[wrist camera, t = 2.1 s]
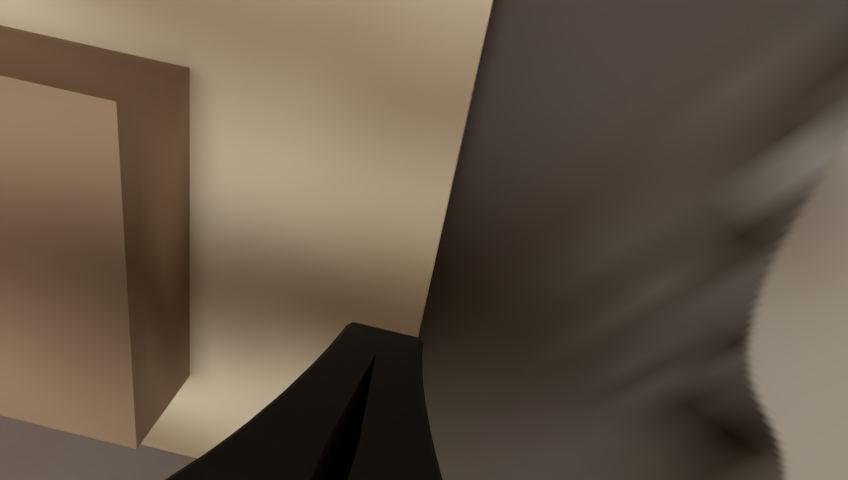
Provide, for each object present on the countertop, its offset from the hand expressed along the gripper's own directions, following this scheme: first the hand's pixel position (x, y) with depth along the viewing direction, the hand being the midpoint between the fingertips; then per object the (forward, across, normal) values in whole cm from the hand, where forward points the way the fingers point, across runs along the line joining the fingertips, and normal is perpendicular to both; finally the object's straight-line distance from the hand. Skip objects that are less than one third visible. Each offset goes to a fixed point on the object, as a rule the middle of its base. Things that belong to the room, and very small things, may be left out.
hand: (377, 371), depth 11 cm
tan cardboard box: (+3, +8, 0) cm, 8 cm away
